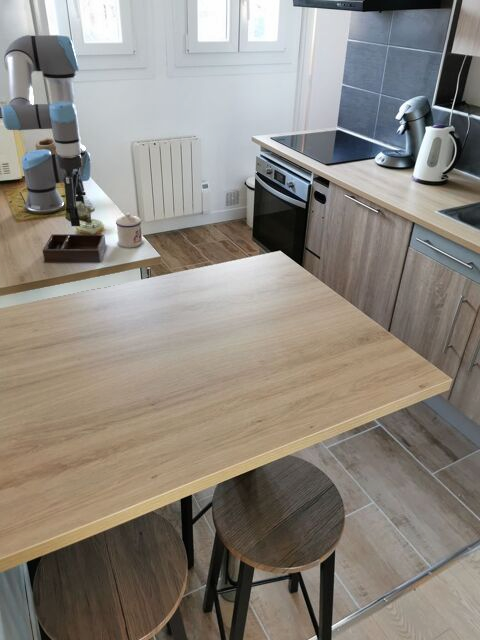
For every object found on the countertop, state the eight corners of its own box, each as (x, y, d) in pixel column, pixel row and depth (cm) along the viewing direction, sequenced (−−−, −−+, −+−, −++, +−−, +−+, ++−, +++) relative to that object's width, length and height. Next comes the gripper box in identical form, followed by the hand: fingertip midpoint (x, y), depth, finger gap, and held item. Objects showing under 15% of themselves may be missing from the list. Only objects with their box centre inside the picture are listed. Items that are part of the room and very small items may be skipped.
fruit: (71, 231, 173) (62, 209, 169) (66, 223, 181) (58, 201, 176) (97, 222, 176) (89, 200, 171) (92, 214, 183) (84, 193, 179)
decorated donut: (96, 238, 196) (95, 229, 194) (71, 234, 198) (69, 225, 196) (109, 227, 204) (107, 219, 202) (84, 224, 206) (83, 215, 204)
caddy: (53, 245, 190) (51, 234, 187) (105, 245, 191) (104, 234, 188) (44, 262, 179) (42, 250, 176) (100, 262, 180) (98, 250, 178)
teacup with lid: (138, 249, 189) (136, 219, 183) (114, 247, 190) (111, 217, 184) (147, 235, 199) (145, 207, 193) (125, 233, 200) (122, 205, 194)
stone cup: (39, 174, 255) (33, 143, 246) (37, 167, 264) (32, 137, 255) (71, 171, 259) (66, 141, 251) (68, 164, 269) (64, 135, 260)
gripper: (64, 144, 175) (74, 207, 187) (48, 165, 156) (60, 233, 168) (87, 145, 175) (95, 207, 187) (73, 165, 156) (83, 233, 169)
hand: (78, 219), depth 178 cm, fingers closed on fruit, 10 cm apart
